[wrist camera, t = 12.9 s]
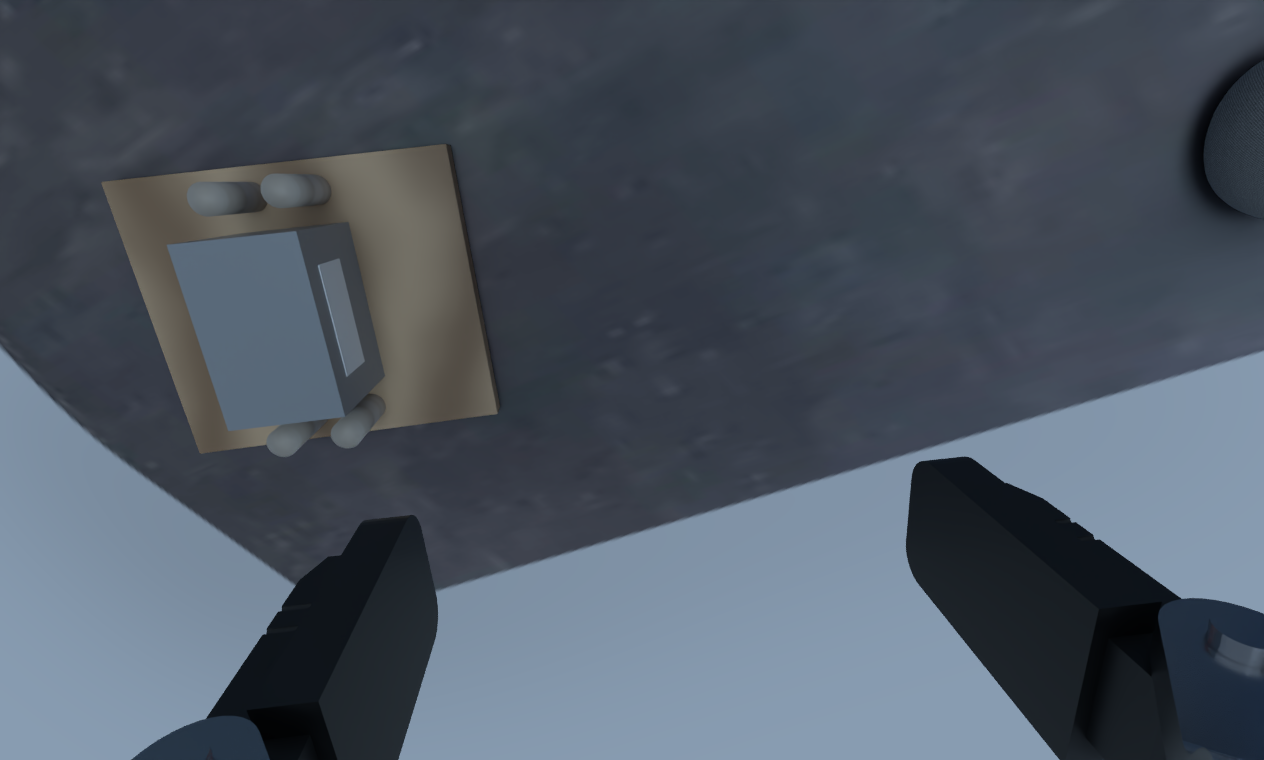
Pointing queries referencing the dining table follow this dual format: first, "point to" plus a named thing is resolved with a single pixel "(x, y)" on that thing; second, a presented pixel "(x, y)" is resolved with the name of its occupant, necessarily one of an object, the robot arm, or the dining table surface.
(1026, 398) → the dining table surface
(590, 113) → the dining table surface
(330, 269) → the grey rectangular block
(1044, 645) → the robot arm
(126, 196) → the tray
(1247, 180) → the smart speaker
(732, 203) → the dining table surface
